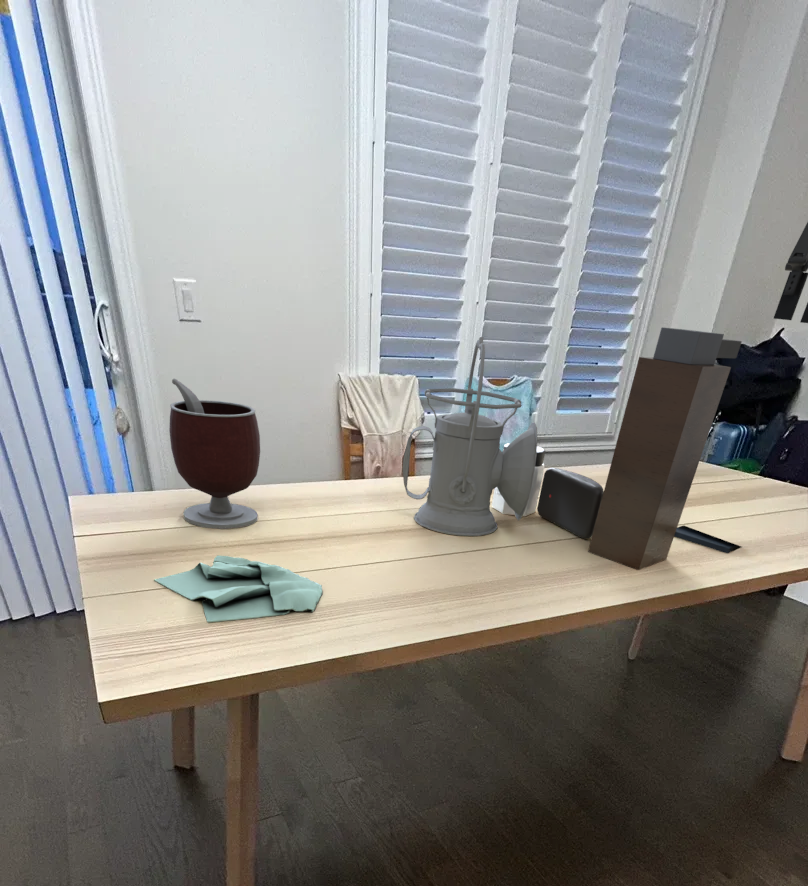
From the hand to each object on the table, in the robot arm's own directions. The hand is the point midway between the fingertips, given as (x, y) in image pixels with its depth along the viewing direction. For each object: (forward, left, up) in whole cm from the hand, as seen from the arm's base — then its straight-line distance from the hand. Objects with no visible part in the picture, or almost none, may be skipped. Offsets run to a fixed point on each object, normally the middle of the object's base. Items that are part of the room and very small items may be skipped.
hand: (795, 321), depth 111 cm
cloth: (+7, +101, -37) cm, 108 cm away
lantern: (+21, +53, -37) cm, 68 cm away
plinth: (-4, +34, -37) cm, 50 cm away
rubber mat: (-3, +6, -37) cm, 37 cm away
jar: (+24, +36, -37) cm, 57 cm away
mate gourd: (+37, +93, -37) cm, 107 cm away
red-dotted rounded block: (+12, +34, -37) cm, 51 cm away
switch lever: (-3, +28, -7) cm, 29 cm away
